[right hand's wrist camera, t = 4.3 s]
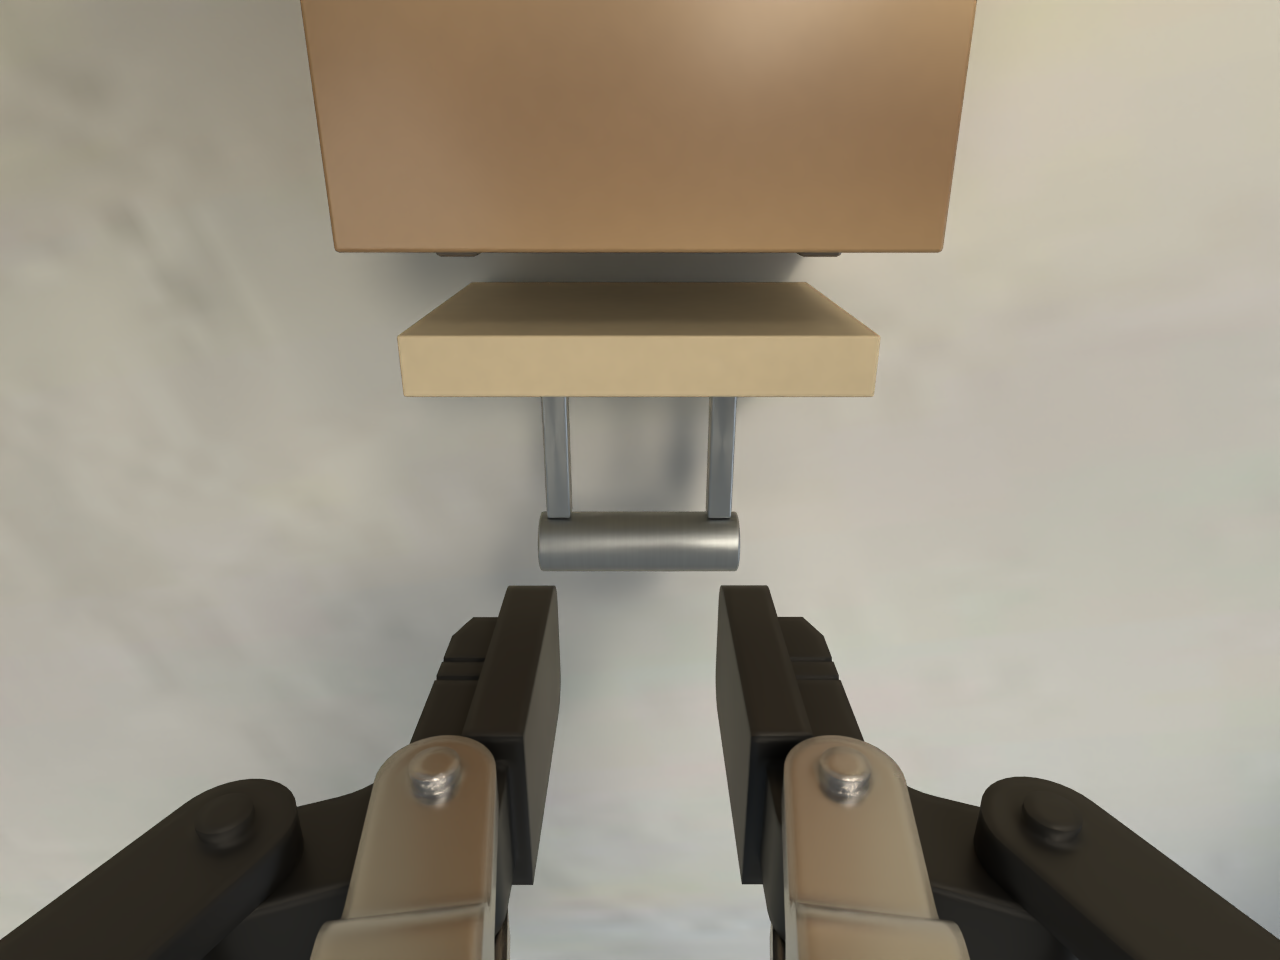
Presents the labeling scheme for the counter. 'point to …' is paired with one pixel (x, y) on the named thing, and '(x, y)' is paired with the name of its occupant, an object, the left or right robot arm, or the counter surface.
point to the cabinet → (638, 124)
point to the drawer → (638, 385)
